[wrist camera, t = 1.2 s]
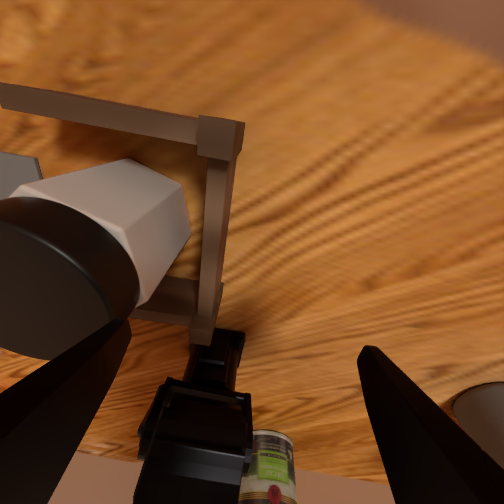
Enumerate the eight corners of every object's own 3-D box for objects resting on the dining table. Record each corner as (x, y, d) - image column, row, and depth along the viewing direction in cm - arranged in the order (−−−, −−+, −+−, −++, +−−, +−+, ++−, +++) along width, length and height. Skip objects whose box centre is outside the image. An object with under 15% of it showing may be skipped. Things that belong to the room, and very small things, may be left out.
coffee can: (244, 424, 39) (235, 565, 26) (301, 435, 40) (318, 575, 27) (230, 449, 44) (217, 576, 31) (281, 458, 45) (287, 585, 32)
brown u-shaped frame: (222, 295, 25) (209, 346, 19) (102, 276, 24) (54, 322, 19) (245, 122, 16) (236, 122, 11) (65, 87, 16) (-42, 68, 10)
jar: (87, 226, 21) (-82, 326, 11) (101, 141, 18) (-137, 166, 7) (178, 265, 23) (107, 383, 13) (208, 195, 19) (142, 279, 9)
